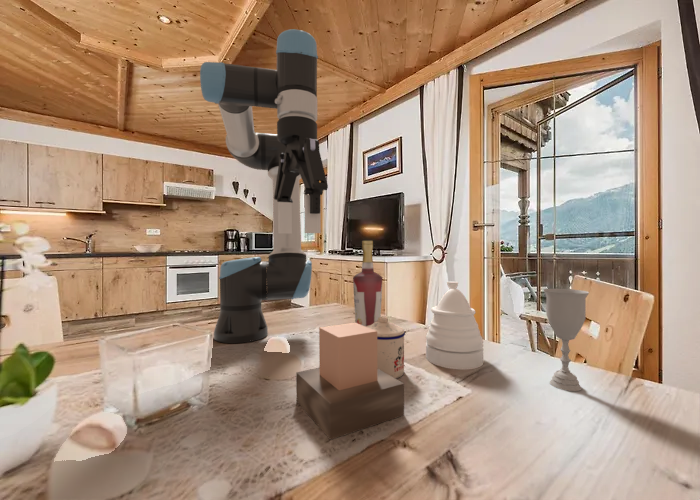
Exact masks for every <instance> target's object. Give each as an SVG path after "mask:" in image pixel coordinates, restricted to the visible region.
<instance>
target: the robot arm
mask: <svg viewBox="0 0 700 500" xmlns="http://www.w3.org/2000/svg"><path fill="white" fill-rule="evenodd" d="M317 45H318V44H317V40H316V39H315V38H314V36H313V35H311V34H310V33H309V32H307V31H305V30H301V29H286V30H284V31H282V32H281V33H280V34H279V35H278V36H277V39H276V50H275V54H276V69H273V68H265V67H255V66H248V65H247V66H246V65H240V64H234V63H233V64H232V63H224V62H222V61H220V62H214V61H213V62H211V61H205V62H203V63H201V66H200V68H199V69H200V70H199V73H200V75H199V79H200V80H199V81H200V88H201V95H202V97H203V99H204V100H205V101H207V102H209V103H214V104H218V108H219V111H220V115H221V119H222V121H223V126H224V129H225V132H226V136H225V145H226V147H227V150H228V152H229V153H230V155H231V156H232V157H233V158H234V159H235V160H236V161H238V162H239V163H241V164H242V165H244V166H246V167H248V168H250V169H254V170H260V171H267V175H268V177H269V178H270V179H271V180H272V222H273V223H272V226H273V227H272V232H273V233H272V234H273V235H272V236H273V237H272V238H273V239H272V241H273V245H272V246H273V250H272V252H270V253H269V255H268V261H267V260H266V261H262V260H263V259H262V257H261V256H254V257H246V258H240V259H238V258H237V259H231V260H227V261H224V262H222V264H221V265H220V267H219V297H220V298H219V303H220V305H219V306H220V307H219V308H220V309H219V315H218V318H217V321H216V324H215V327H214V329H213V339H214V341H216V342H218V343H222V344H242V343H249V342H250V343H251V342H255V341H259V340H261V339H264V338H265V337H267V336H268V331H269V330H268V325H267V322H266V319H265V315H264V313H263V309H262V301H270V300H271V301H273V300H294V299H303V298H306V297H307V296H308V294H309V291H310V288H311V280H312V274H313V273H312V272H313V271H312V270H313V266H312V264H313V263H312V261H311V260H309V259H307V254H306V253H305V252H304V251H303V250H302V235H301V234H302V233H301V232H302V231H301V229H302V228H301V200H300V199H301V197H300V192H301V191H300V180H301V181H302V183H303V185H304V187H305V189H303V195H304V234H322V232H321V231H322V230H321V225H322V224H321V221H322V220H321V216H322V215H321V213H322V210H321V209H322V208H321V207H322V205H321V204H322V203H321V197H322V195H323V192H324V191H327V190H328V189H329V184H328V181H327V180H328V179H327V177H326V172H325V168H324V164H323V160H322V157H321V156H322V155H321V153H320V141H319V139H318V124H317V121H318V94H317V93H318V92H317V91H318V90H317V89H318V88H317V86H318V59H319V56H318V50H317V49H318V47H317ZM253 107H257V108H266V109H276V113H277V115H276V116H277V119H278V120H277V121H276V134H275V133H265V132H264V133H263V132H256V131H255V123H254V112H253Z"/></svg>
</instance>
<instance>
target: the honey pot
mask: <svg viewBox="0 0 700 500" xmlns="http://www.w3.org/2000/svg"><path fill="white" fill-rule="evenodd" d="M446 283H447V287H448V288H449V289H448V290H447V291H446V292H445V293H444V294H443V295H442V297H441V299H440V300H439V302H438V304H437V305H435V306H432V307H431V308H430V311H431V312H432V313H433V317H432V319H431V320H430V323H429V327H428V331H427V333H426V336H425V340H426V341H425V359H426V360H427V361H428V362H429V363H431V364H433V365H435V366H438V367H440V368H441V367H442V368H445V369H449V370H452V369H453V370H472V369H477V368H480V367H482V366H483V364H484V348H483V347H484V340H483V337H482V335H481V330H480V328H479V323H478V322H477V321H476V318H475V314H476V310H475V309H474V308H473V307H471V306H470V303H469V301H468V299H467V298H466V296H465V295H464V294H463V292H462V291H460V290H459V289H457V287H458V286H459V285H458V284H459V281H446Z"/></svg>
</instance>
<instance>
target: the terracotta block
mask: <svg viewBox="0 0 700 500" xmlns="http://www.w3.org/2000/svg"><path fill="white" fill-rule="evenodd" d="M318 329H319V330H318V334H319V337H318V339H319V340H318V341H319V344H318V345H319V347H318V348H319V357H318V359H319V361H318V362H319V368H320V375H321V376H322V377H323V378H324V379H325V380H327V381H328V382H329V383H330V384H332V385H333V386H334V387H335V388H337V389H338V390H343V389H347V388H351V387H355V386H359V385H363V384H366V383H370V382H374V381H377V331H375V330H373V329H370V328H368V327H365V326H363V325H360V324H357V323H355V322H349V323H342V324H335V325H329V326H320V327H319V328H318Z"/></svg>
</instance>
